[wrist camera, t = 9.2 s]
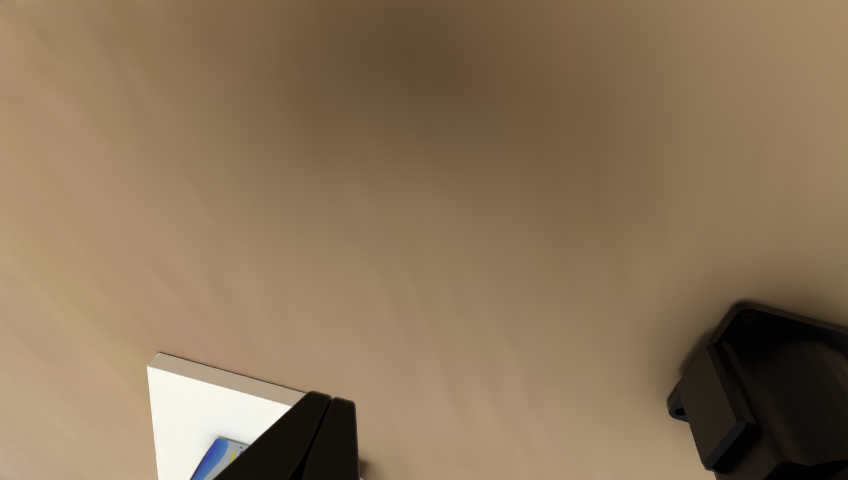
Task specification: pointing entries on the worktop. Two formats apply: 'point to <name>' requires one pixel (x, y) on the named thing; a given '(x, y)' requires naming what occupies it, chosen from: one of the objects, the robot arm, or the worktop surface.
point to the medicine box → (218, 459)
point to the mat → (206, 411)
